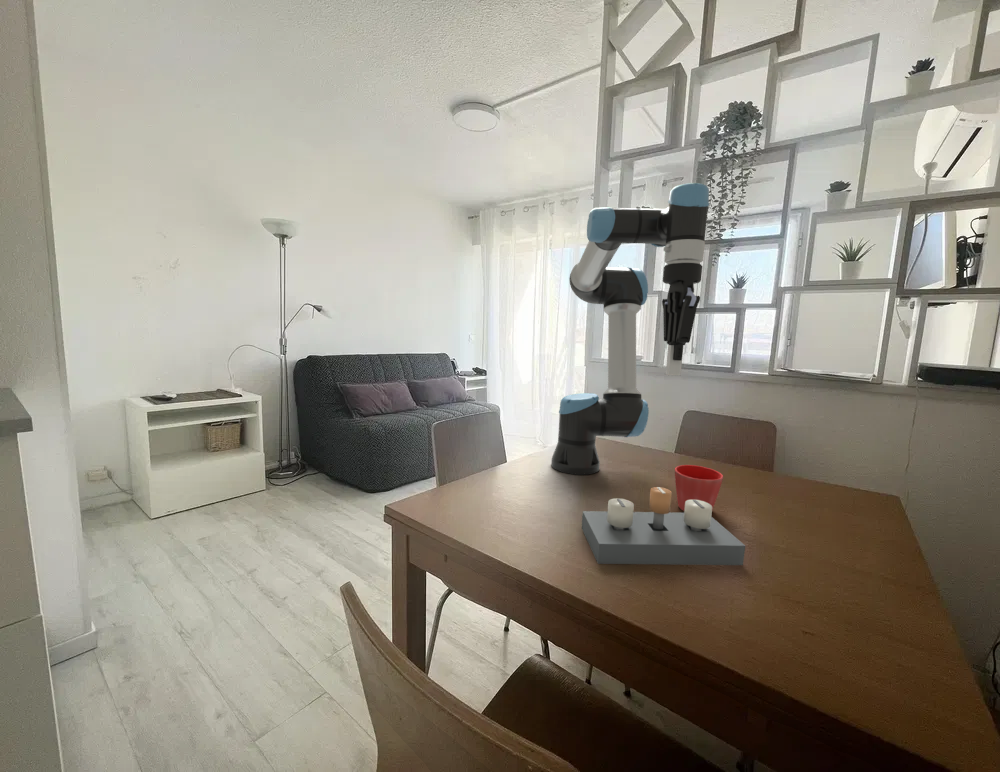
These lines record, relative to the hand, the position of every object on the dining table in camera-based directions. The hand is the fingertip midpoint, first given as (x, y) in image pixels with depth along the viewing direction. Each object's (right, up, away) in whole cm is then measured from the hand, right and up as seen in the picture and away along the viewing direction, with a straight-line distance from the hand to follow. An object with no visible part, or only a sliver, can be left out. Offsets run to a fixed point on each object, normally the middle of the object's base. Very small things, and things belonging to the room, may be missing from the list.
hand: (673, 375), depth 92 cm
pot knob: (-5, -31, -6) cm, 32 cm away
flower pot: (+11, -33, +13) cm, 38 cm away
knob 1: (-14, -34, -5) cm, 37 cm away
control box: (-6, -35, -5) cm, 36 cm away
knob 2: (+2, -34, -5) cm, 35 cm away
